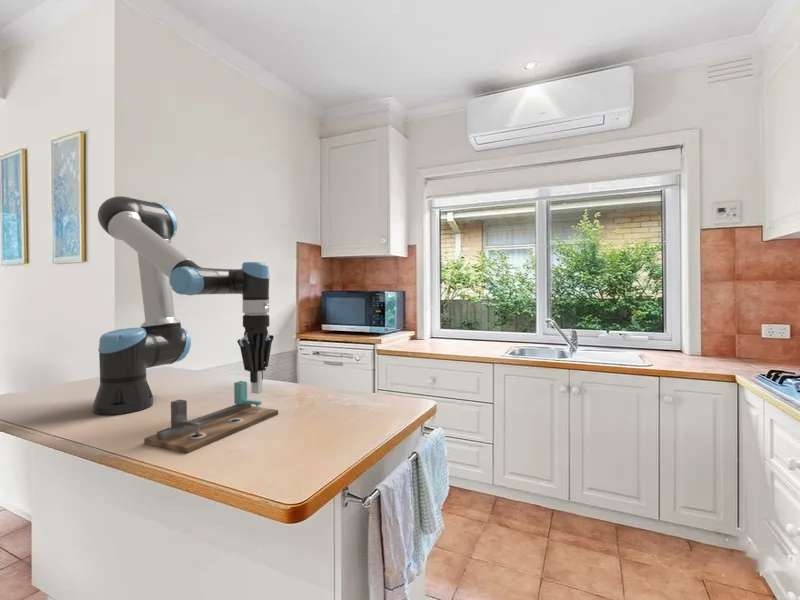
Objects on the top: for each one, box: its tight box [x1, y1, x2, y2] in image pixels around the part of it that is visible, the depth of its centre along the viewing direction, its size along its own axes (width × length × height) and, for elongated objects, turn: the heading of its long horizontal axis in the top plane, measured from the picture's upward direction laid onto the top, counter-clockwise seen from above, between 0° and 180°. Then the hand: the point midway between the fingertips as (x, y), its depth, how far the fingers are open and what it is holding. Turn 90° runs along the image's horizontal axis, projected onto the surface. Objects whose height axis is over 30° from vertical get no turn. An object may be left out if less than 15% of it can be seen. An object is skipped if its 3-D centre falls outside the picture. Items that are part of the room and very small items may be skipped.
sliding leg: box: [233, 380, 262, 411], centre depth 118 cm, size 8×2×7 cm, turn 67°
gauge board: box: [143, 399, 279, 454], centre depth 107 cm, size 14×30×9 cm, turn 157°
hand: (256, 392), depth 125 cm, fingers closed
